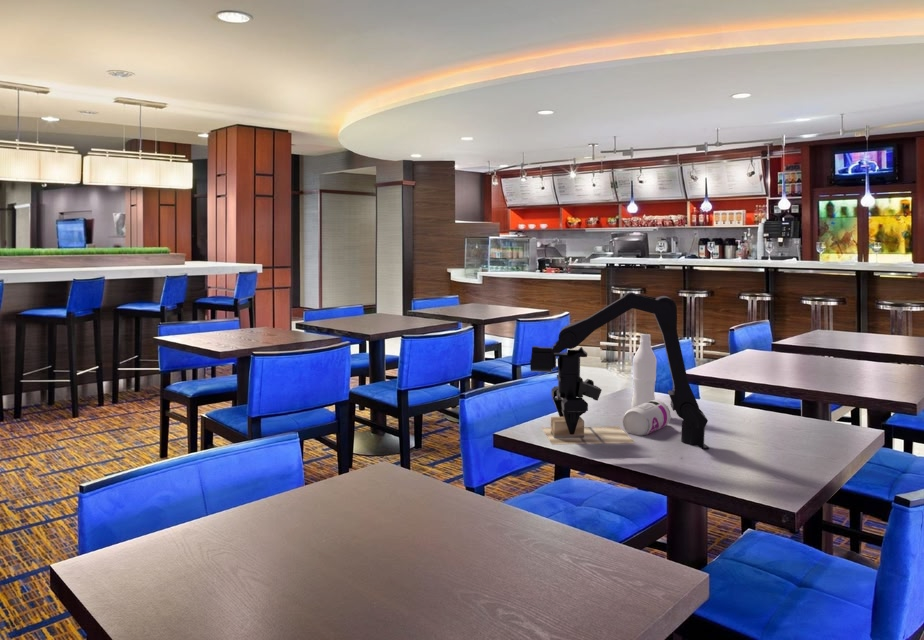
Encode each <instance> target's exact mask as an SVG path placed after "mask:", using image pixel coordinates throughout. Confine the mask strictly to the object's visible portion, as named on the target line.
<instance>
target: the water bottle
mask: <svg viewBox="0 0 924 640" xmlns="http://www.w3.org/2000/svg"><path fill="white" fill-rule="evenodd" d="M651 336H652V335H651V334H649V333H648V334H647V333H641V334H640V336H639V337H640V338H639V346H638V349H637V351H635V354H634V356H633V359H632V383H633V393H632V399H631V408H634V407H636V406H639V405H641V404H644V403H646V402H649V401H652V400H656V398H655V397H656V396H655V387H656V383H657V382H656V381H657V364H658V360H657V357H656V355H655V353H654V351H653V348H652V345H651V343H652V340H651Z"/></svg>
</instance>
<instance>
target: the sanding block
mask: <svg viewBox="0 0 924 640" xmlns="http://www.w3.org/2000/svg"><path fill="white" fill-rule="evenodd" d="M584 427H585V421H584V419H583V418H582V417H581V416H580V417H579V420H578V423H577V426H576V430H575V433H574V434H573V435H571V434H570V433H569V430H568V427H567V424H566V421H565V418H564V417H560V416H551V417H550V428H551V434H552V436H553V437H554V438H584Z"/></svg>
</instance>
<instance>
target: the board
mask: <svg viewBox="0 0 924 640" xmlns="http://www.w3.org/2000/svg"><path fill="white" fill-rule="evenodd" d="M541 429H542V431H543V433H544V434H545V436H546V437H547V439H548V440H549V442H550V444H551V445H589V444H590V445H593V444H595V445H596V444H598V445H599V444H636V443H637V442H636V441H635V440H634V439H632V438H631V436H629V435H628V433H627V432H626V431H624V430H623V429H622V428H621V427H619V426H584V438H554V437H553V436H552V434H551V427H541Z"/></svg>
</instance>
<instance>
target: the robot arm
mask: <svg viewBox="0 0 924 640" xmlns="http://www.w3.org/2000/svg"><path fill="white" fill-rule="evenodd" d="M632 309H633V310H637V311H642V312H645V313H650V314H653V315H654V318H655V320H656V323H657V325H658V328H659V329H660V331H661V335H662V339H663V343H664V348H665V353H666V357H667V361H668V366H669V371H670V375H671V380H672V390H667V393H668V395H669V398H670V407H671V408H672V411H675V413H676V415H677V416H678V417H679V418H680V419H682V421H681V433H680V437H681V438H680V442H681V443H683V444H685V445H688V446H691V447H693V446H694V447H695V446H697V447H699V448H700V449H702V450H709V449H710V447H709V446H708V445H707V444H706V443H705V431H706V430H705V429H706V426H707V424H708V421H709V420H708V418H707V417H706V415H705V414H704V412H703V411H702V410H701V409H700V406H699V404H698V401H697V400H696V396H695V395H694V394H695V393H694V392H693V390H692V387H691V386H690V383H689V380H688V376H687V375H688V374H687V371H686V366H685V361H684V356H683V353H682V348H681V344H680V339H679V334H678V308H677V304H676V302H675V301H674V300H673V298H671V297H669V296H666V295H661V296H657V297H653V296H649V295H644V294H639V293H635V292H633V291H628V292H626V293H625V294H624V295H623V296H621V297H620V298H618V299H617V300H615V301H614V302H612V303H610V304H608V305H607V306H605V307H603V308H601V309H600V310H598V311H597V312H595V313H593V314H592V315H590V316H589V317H586V318H583V319H581V320H578V321H575V322H572V323H569V324H567V325H565V326H564V327H562V328H561V329H560V331H559V334H558V340H556V342H555V343H553V344H552V347H548V346H537V345H534V346H532V347H531V357H530V362H529V364H530V365H529V367H530V372H537V373H539V372H540V373H552V372H553V370H554V369H557V357H558V374H556V380H557V381H558V382H557V385H555V386H554V387H552V388H551V390H550V394H551V398H552V401H553V404H554V406H555V409H556V411H557V414H558V417H564V418H565V421H566V424H567V427H568V430H569V433H570V434H571V435H573V434H574V433H575V430H576V426H577V423H578V420H579V417H581V416H582V415H583V414H586V413H587V411H589V402H587V401H586V400H585V399H584V396H585V397H587V398H591V399H592V400H593V401H599V399H600V396H601V392H602V388H601V387H599V386H597V385H595V383H594V381H593V380H592V379H589V378H586V379H585V380H583V378H582V376H581V358H587V357H588V352H586V351H585V350H584V348H583V347H582V346H580V347H579V349H576V348H577V347H578V346H579V345H580V344H582V342H584V341H585V340H586V339H587V338H588V337H590V335H591V334H592V333H594V331H596V330H598V329H599V328H601V327H603V326H605V325H606V324H608V323H610V322H611V321H613V320H615V319H616V318H618V317H620V316H622V315H623V314H625V313H627V312H628V311H631V310H632ZM566 349H567V352H563V351H564V350H566Z"/></svg>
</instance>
